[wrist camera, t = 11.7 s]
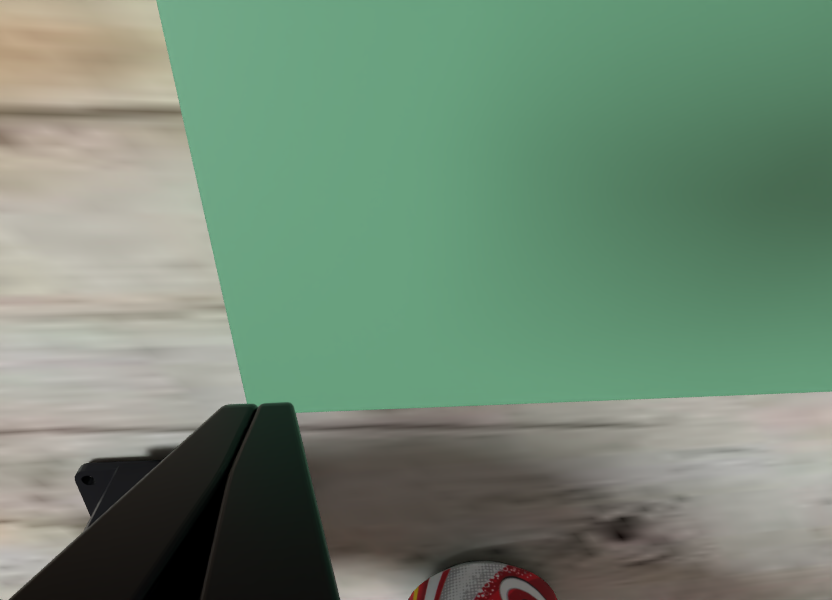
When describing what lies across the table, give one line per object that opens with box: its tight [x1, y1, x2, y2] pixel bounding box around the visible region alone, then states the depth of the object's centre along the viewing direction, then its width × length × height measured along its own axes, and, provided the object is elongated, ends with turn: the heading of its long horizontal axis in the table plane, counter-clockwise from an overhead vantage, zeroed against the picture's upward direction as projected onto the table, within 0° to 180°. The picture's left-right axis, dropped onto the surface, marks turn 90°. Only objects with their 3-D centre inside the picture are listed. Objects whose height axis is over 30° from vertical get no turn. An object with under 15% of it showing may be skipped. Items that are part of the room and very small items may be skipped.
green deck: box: [156, 0, 832, 413], centre depth 16 cm, size 13×26×4 cm, turn 92°
